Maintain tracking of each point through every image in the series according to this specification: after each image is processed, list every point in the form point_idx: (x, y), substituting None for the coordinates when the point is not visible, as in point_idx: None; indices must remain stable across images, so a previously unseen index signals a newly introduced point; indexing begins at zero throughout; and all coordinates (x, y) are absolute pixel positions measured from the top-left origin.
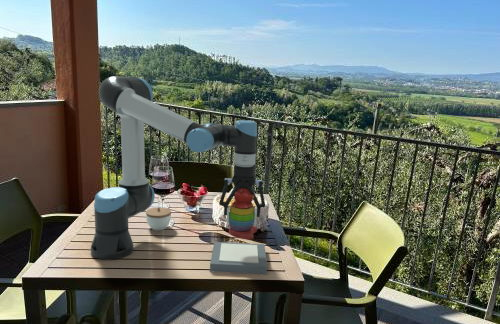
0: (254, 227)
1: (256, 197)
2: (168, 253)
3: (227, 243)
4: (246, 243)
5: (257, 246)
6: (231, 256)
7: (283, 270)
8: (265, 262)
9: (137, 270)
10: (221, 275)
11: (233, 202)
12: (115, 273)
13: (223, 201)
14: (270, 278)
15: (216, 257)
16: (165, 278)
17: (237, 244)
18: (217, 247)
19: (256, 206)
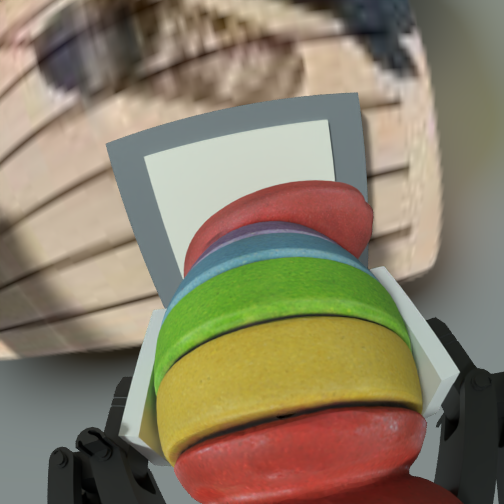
0: (362, 244)
1: (492, 473)
2: (19, 239)
3: (170, 135)
4: (268, 103)
5: (328, 124)
6: None
7: (407, 230)
8: (363, 260)
9: (33, 332)
10: None
11: (189, 493)
12: (18, 345)
13: (85, 479)
14: None
15: (172, 280)
16: (97, 350)
17: (225, 140)
18: (140, 196)
19: (441, 433)
